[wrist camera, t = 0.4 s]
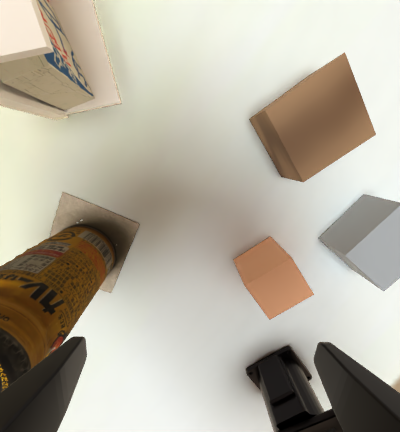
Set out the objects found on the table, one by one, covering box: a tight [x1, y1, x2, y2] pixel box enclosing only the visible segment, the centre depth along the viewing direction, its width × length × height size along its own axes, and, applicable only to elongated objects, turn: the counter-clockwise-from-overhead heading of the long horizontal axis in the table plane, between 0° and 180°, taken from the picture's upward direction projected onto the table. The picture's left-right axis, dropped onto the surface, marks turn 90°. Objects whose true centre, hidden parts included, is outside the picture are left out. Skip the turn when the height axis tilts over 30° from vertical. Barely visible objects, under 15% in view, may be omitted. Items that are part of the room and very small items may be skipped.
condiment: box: [0, 192, 139, 392], centre depth 14 cm, size 7×8×12 cm
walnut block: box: [249, 53, 376, 182], centre depth 16 cm, size 6×6×4 cm
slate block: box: [319, 195, 400, 291], centre depth 20 cm, size 6×6×4 cm
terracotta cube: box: [234, 237, 314, 320], centre depth 20 cm, size 4×4×4 cm
